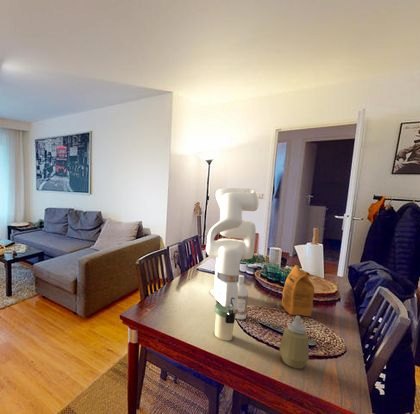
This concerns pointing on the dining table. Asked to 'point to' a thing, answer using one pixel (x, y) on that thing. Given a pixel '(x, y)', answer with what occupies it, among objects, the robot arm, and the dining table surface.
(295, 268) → the coffee package
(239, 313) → the bath foam
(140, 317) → the dining table surface
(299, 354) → the squeeze bottle
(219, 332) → the jar
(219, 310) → the lid
